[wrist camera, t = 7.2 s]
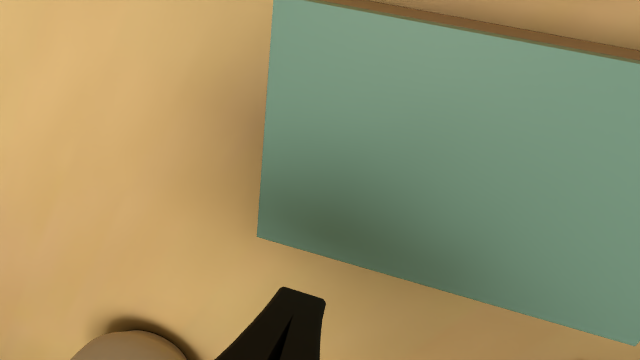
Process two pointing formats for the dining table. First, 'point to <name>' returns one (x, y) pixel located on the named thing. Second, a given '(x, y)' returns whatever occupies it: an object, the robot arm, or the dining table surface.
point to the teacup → (129, 347)
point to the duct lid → (457, 161)
